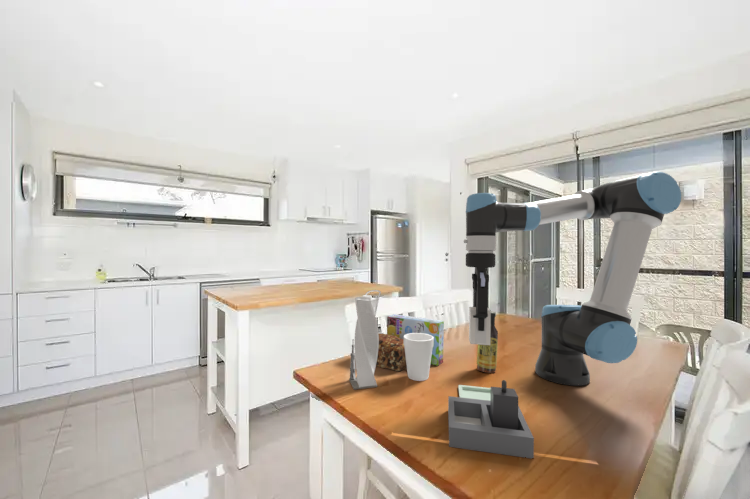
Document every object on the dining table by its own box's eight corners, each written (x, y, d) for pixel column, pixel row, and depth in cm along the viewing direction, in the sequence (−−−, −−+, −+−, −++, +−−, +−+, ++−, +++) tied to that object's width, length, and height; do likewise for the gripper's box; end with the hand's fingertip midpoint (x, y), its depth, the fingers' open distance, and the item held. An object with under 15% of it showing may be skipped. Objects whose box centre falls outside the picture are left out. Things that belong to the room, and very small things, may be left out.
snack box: (444, 361, 114) (444, 320, 114) (438, 366, 109) (438, 323, 109) (392, 351, 125) (393, 313, 125) (385, 355, 120) (386, 315, 120)
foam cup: (432, 386, 93) (433, 342, 93) (401, 383, 95) (402, 340, 95) (433, 373, 102) (433, 333, 102) (405, 371, 104) (405, 332, 104)
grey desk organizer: (517, 420, 75) (518, 370, 75) (533, 458, 61) (534, 397, 61) (448, 412, 78) (448, 364, 78) (449, 446, 65) (449, 388, 64)
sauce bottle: (477, 372, 103) (477, 312, 103) (476, 366, 110) (477, 309, 110) (498, 375, 102) (499, 313, 102) (496, 368, 108) (497, 310, 108)
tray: (494, 393, 89) (494, 388, 89) (503, 416, 76) (503, 411, 76) (458, 389, 91) (458, 384, 91) (460, 411, 79) (460, 406, 78)
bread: (354, 361, 113) (355, 333, 113) (372, 353, 122) (372, 327, 122) (399, 373, 102) (399, 343, 102) (414, 364, 111) (415, 336, 111)
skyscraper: (375, 377, 99) (376, 288, 99) (383, 388, 91) (384, 291, 91) (349, 379, 97) (350, 289, 97) (354, 391, 89) (355, 292, 89)
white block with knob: (488, 340, 85) (488, 297, 85) (490, 345, 81) (490, 300, 81) (469, 339, 86) (469, 296, 86) (470, 343, 82) (470, 299, 82)
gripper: (463, 251, 93) (463, 331, 93) (468, 252, 76) (467, 348, 76) (490, 252, 91) (490, 332, 91) (500, 252, 74) (499, 351, 75)
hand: (479, 339), depth 84 cm, fingers closed on white block with knob, 4 cm apart
